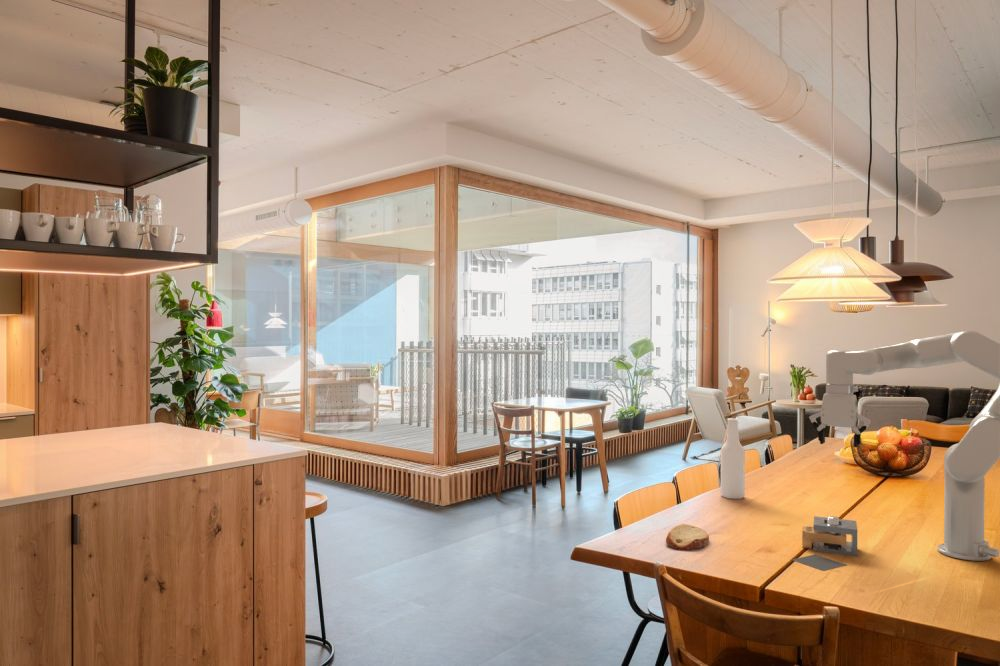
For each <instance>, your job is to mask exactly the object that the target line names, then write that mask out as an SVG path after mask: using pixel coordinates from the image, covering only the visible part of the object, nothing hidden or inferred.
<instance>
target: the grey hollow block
mask: <svg viewBox="0 0 1000 666" xmlns="http://www.w3.org/2000/svg"><path fill="white" fill-rule="evenodd" d="M827 532H832V533H839V535H835V534H827ZM801 533H802V536H801V537H802V540H801V541H802V542H801V545H802V546H801V547H802V548H804V549H812V547H813V552H817V553H824V554H831V555H840V556H845V557H846V556H847V557H848V556H849V557H855V558H858V525H857V520H850V519H840V518H839V525H833V524H827V517H825V516H816V515H815V516H814V517H813V526H810V525H809V526H808V525H807V526H802V531H801ZM847 535H848V536H849V535H850V536H851V541H847ZM827 543H831V544H839V547H831V546H827Z"/></svg>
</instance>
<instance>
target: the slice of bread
mask: <svg viewBox="0 0 1000 666" xmlns="http://www.w3.org/2000/svg"><path fill="white" fill-rule="evenodd" d="M709 541H710V536H709V534H708V533H707V531H706V530H704V529H702V528H700V527H697V526H694V525H691V524H685V523H682V524H679V525H676V526H675V527H672V529H670V530H669V531H668V533H667V535H666V537H665V543H666V544H667V545H668V546H669V547H670V548H672V549H673V550H675V551H686V552H690V551H692V550H700V549H703V548H705V547H706V546H707V545H708V544H709V543H710V542H709Z"/></svg>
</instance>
